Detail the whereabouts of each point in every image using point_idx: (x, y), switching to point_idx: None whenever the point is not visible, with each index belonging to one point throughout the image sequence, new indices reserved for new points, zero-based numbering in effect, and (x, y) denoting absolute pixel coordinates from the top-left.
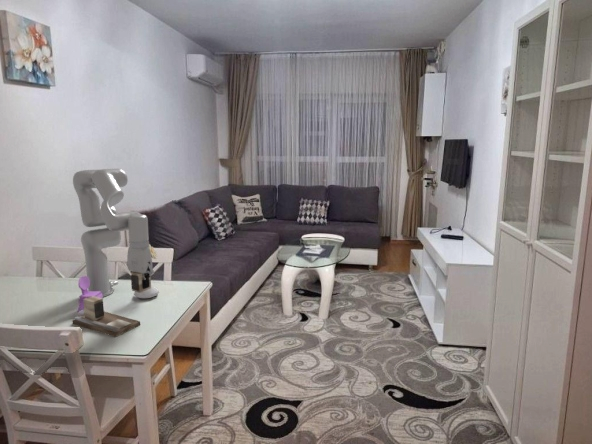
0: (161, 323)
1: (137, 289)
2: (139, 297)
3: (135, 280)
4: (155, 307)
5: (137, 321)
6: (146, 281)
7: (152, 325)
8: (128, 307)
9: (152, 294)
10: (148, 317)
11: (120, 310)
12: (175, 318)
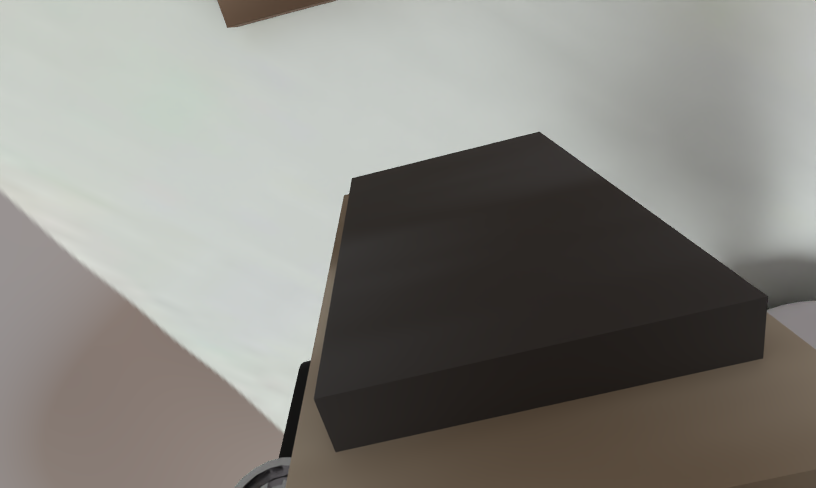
0: (141, 186)
1: (359, 183)
2: (767, 312)
3: (425, 268)
4: None
5: (246, 6)
6: (286, 456)
7: (148, 106)
8: (710, 160)
9: None
10: (354, 172)
11: (719, 70)
12: (171, 312)
